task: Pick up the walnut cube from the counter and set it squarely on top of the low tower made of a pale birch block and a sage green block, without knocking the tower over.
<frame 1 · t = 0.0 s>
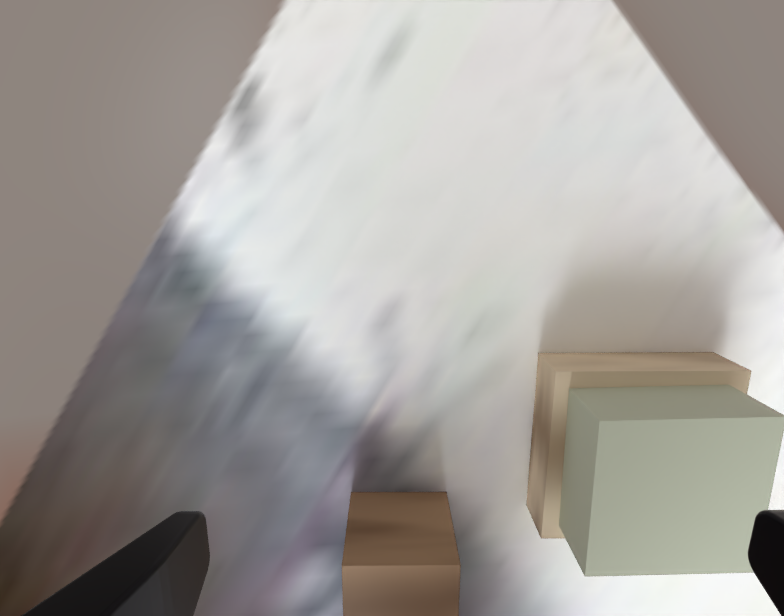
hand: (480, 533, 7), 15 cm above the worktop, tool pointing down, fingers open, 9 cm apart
walnut cube: (398, 531, 25), on the worktop
sage top block: (640, 457, 21), point 2 cm above the worktop, touching birch base block
birch base block: (610, 426, 24), on the worktop, touching sage top block
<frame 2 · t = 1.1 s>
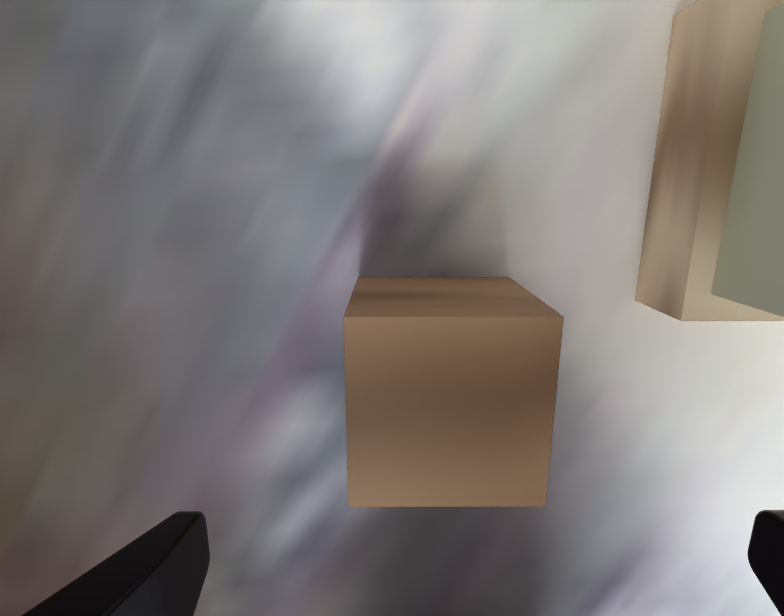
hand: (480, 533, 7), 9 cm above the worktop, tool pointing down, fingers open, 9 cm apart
walnut cube: (431, 348, 16), on the worktop
birch base block: (775, 169, 15), on the worktop, touching sage top block
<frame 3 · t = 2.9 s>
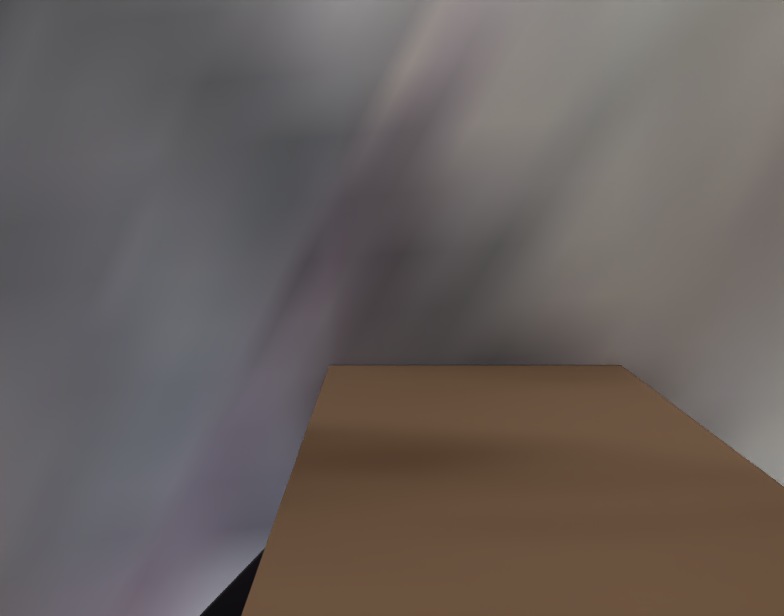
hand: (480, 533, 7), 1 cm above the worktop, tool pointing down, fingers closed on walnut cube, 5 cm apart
walnut cube: (469, 492, 8), on the worktop, touching gripper
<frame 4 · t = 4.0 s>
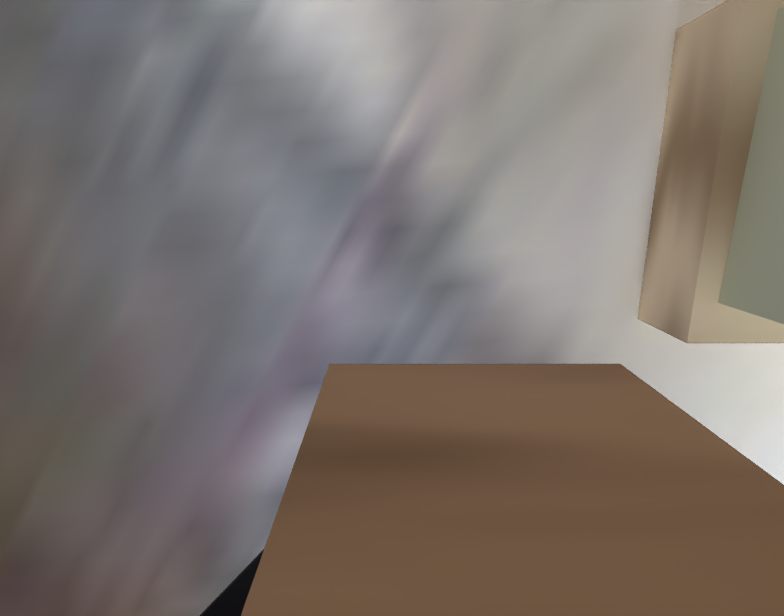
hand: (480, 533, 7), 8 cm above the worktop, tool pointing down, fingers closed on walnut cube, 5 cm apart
walnut cube: (468, 491, 9), point 7 cm above the worktop, touching gripper
birch base block: (781, 185, 15), on the worktop, touching sage top block
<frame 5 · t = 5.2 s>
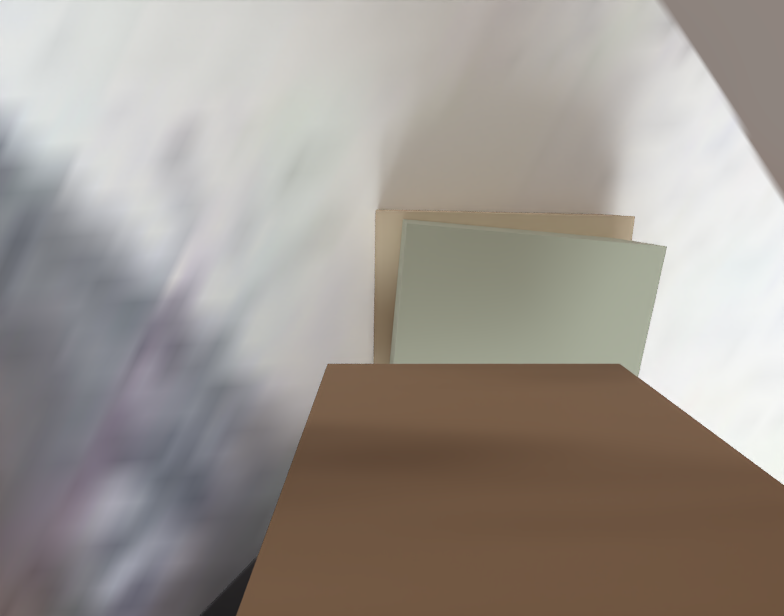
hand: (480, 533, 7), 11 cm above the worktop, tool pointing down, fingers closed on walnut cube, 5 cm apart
walnut cube: (467, 491, 8), point 10 cm above the worktop, touching gripper
sage top block: (494, 330, 16), point 2 cm above the worktop, touching birch base block
birch base block: (479, 317, 19), on the worktop, touching sage top block
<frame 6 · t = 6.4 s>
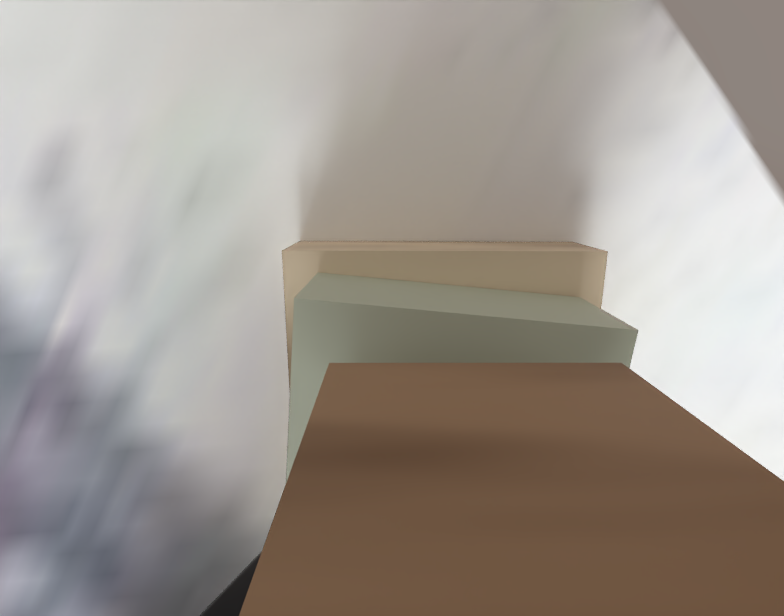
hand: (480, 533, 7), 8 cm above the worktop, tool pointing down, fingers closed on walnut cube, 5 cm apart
walnut cube: (469, 490, 8), point 7 cm above the worktop, touching gripper
sage top block: (434, 405, 13), point 2 cm above the worktop, touching birch base block
birch base block: (431, 363, 16), on the worktop, touching sage top block
when the fingers open (8 cm above the worktop, at t = 7.1 s): walnut cube drops 2 cm, resting on sage top block.
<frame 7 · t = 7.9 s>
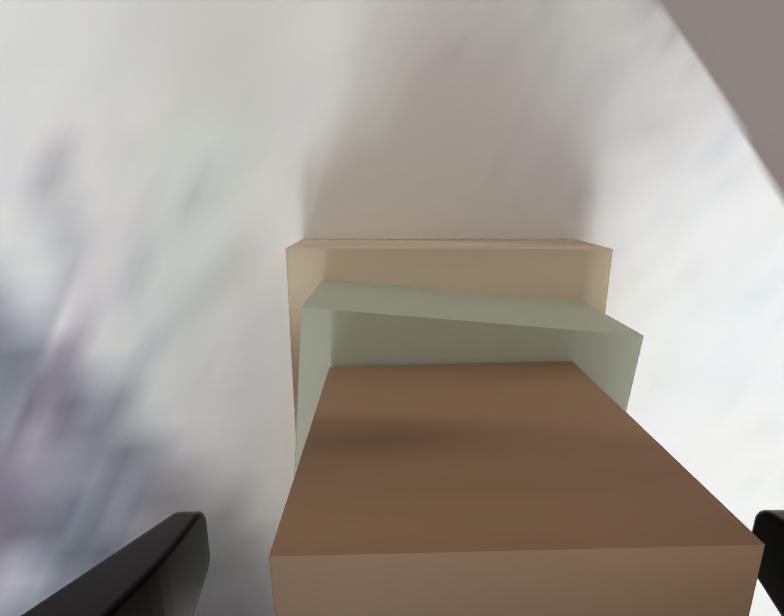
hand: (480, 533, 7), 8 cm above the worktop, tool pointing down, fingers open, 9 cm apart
walnut cube: (449, 470, 10), point 5 cm above the worktop, touching sage top block
sage top block: (439, 410, 13), point 2 cm above the worktop, touching birch base block, walnut cube
birch base block: (434, 361, 16), on the worktop, touching sage top block
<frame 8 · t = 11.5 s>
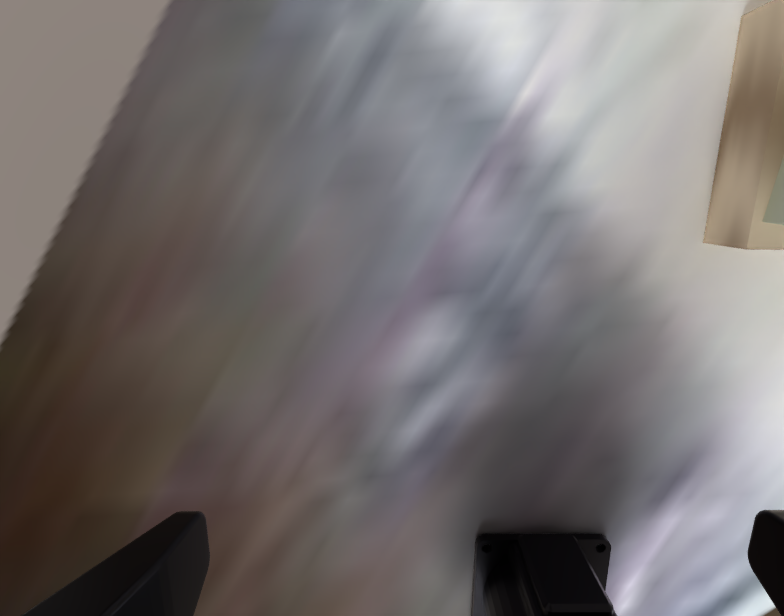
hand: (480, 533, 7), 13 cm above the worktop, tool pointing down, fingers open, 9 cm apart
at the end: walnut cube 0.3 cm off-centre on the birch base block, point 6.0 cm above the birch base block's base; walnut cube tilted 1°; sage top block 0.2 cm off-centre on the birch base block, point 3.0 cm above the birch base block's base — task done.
